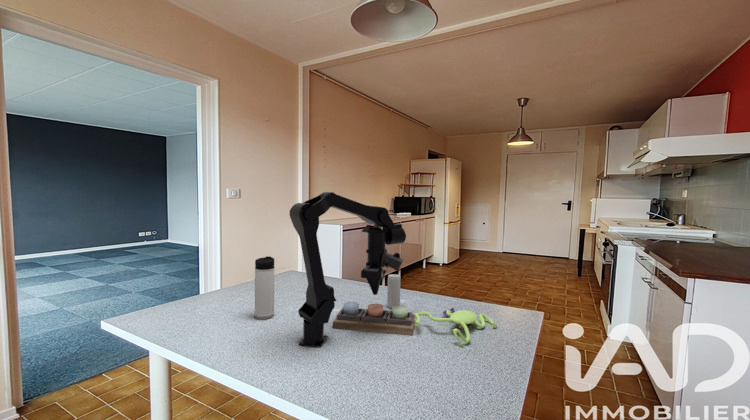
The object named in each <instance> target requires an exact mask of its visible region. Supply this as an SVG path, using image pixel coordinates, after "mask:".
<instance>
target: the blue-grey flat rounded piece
mask: <svg viewBox="0 0 750 420" xmlns="http://www.w3.org/2000/svg"><path fill="white" fill-rule="evenodd" d="M343 307H344V313H345V314H349V315H353V314H357V313H359V308H360V303H358V302H356V301H348V302H344V303H343Z"/></svg>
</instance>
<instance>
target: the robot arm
mask: <svg viewBox="0 0 750 420" xmlns="http://www.w3.org/2000/svg"><path fill="white" fill-rule="evenodd" d="M330 208H333V209H336V210H339V211H342V212H345V213H347V214H351V215H353V216H356V217H358V218H360V220H362V221H364V222H366V226H365V227H364V228H363V229H362V230H361V232H363V233H367V248H366V250H365V252H366V254H367V255H366V256H367V260H366V263H365V266H364V268H362V270H361V271H360V278H361V279H366V280H367V283H368V285H369V287H370V289H371V292H372V295H373V296H377V295H378V293H379V289H380V284H381V280H382V278H384V277H385V274H386V272H387V270H386V269H387V268H391V269H394V271H397V272H400V269H401V267H402V264H403V262H404V259H403V258H402V257H401V254H400V253H399V252H395V253H394V254H392V253H388V249H387V248H386V245H387V246H389V245H401V244H404V243H405V241H406V238H407V234H406V231H405V229H404V228H403V224H401V223H394V221H393V220H392V218H391V216H390V214H389V210H388V208H386V207H381V206H377V205H376V206H375V205H367V204H363V203H361V202H358V201H356V200H353V199H350V198H347V197H345V196H342V195H338V194H337V193H335V192H333V191H324V192H322V193H320V194H318V195H317V196H315V197H312V198H309V199H307V200H305V201H303V202H297V203H295V204H293V205H292V206H291V207H290V210H289V218H290V221H291V223H292V226H293V228H294V229H295V231H296V233H297V234H298V236H299V240H300V247H301V253H302V256H303V262H304V269H305V273H306V277H307V278H306V279H307V288H306V292H305V302H304V303H303V304H302V305H301V306H300V308H299V309H298V311H297V312H298V316H299V317H300V318H302V319H303V322H302V323H303V326H302V332H303V333H302V334H303V336H302V337H303V338H302V339H301V340H299V342H298V346H306V347H308V346H309V347H316V348H320V347H322V346H323V345H324V344H325V342H326V340H327V339H328V337H329V336H328V335H325V324H329V321H330V317H331V314H332V312H333V311H334V309H335V304H336V303H335V302H337V299H336V298H335V288H334V287H333V286H330V285H329V284H327V283H326V281H325V280H326V279H325V276H324V271H323V270H324V269H323V263H322V259H321V258H322V257H321V252H320V247H319V241H318V230H319V225H320V217H321V216H322V215H324V214H325V213H327V211H328V210H329V209H330ZM373 225H374V226H373ZM383 268H386V269H383Z"/></svg>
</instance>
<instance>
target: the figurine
mask: <svg viewBox="0 0 750 420" xmlns="http://www.w3.org/2000/svg"><path fill="white" fill-rule="evenodd" d="M414 315H415V319H416V320H415V322H414V326H419V324H420V323H421V317H422V316H426V317H428V318H429V319H430V320H431V321H432V322H436V323H451V322H453V323H454V324H457V325H459V326H458V328H459V329H458V328H454V329H452V330H451V331H452V333H453V335H454V337H455V338H456V340H458V343H460V346H461V347H462V348H463V349H464V347H465V346H464V344H463V342H464V343H466V344H468V343H470V342H471V334H470V331H469V327H468V326H467V325H469V324H471V325H474V324H475V325H476V326H477V327H478V328H480V329H483V328H484V327H485V326H486V323H485V320H486V321H487V322H489V324H491V326H492V328H494V329H496V328H497V327H498V326H497V323H495V322H494V321H493V320H492V319H491V318H490V317H489V316H487V315H486V314H484V313H480V314H479V316H478V315H477V313H475V312H474V311H472V310H467V309H464V310H456V311H455V308H454V307H452V308H450V309H447V310H444V311H442V315H443V317H435V316H432V313H431V312H428V311H418V312H416V313H415V314H414ZM478 317H479V320H480V322H479V321H478ZM462 328H463V330H464V332H465V336H466V337H465V336H464V334H463V333H462V332H461V330H460V329H462ZM459 337H460V338H461V339H460V338H459ZM461 340H462V341H463V342H462V341H461Z"/></svg>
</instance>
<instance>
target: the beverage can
mask: <svg viewBox="0 0 750 420" xmlns="http://www.w3.org/2000/svg"><path fill="white" fill-rule="evenodd" d="M386 293H387V297H386V298H387V299H386V301H387V302H386V304H387V306H386V307H388V309H391V310H392V307H393V306H397V305H401V275H400V274H396V273H395V274H393V273H391V274H388V276H387V292H386Z"/></svg>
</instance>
